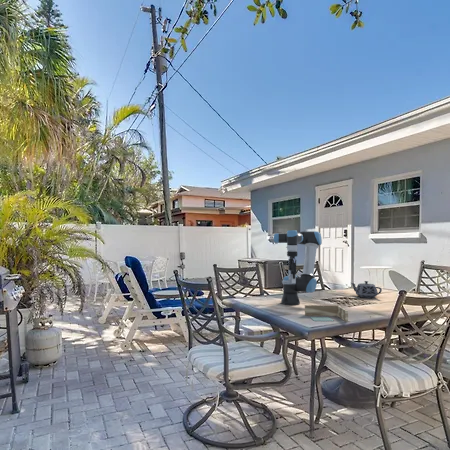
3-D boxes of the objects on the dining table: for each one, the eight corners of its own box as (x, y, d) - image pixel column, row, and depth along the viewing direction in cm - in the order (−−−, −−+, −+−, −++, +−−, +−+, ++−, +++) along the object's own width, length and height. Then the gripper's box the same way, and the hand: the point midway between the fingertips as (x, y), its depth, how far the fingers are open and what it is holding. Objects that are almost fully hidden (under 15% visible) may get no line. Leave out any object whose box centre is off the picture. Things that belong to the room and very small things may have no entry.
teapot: (355, 293, 326) (355, 278, 327) (386, 298, 302) (386, 281, 303) (345, 295, 314) (344, 280, 315) (376, 300, 290) (376, 283, 291)
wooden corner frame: (304, 315, 233) (304, 305, 233) (338, 315, 232) (338, 305, 233) (311, 321, 215) (311, 310, 215) (348, 321, 214) (347, 310, 215)
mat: (310, 317, 226) (310, 316, 226) (329, 317, 226) (329, 317, 226) (314, 321, 216) (314, 320, 216) (333, 321, 216) (333, 320, 216)
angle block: (293, 283, 245) (293, 269, 246) (295, 284, 239) (295, 270, 240) (281, 283, 245) (281, 269, 245) (283, 284, 239) (283, 270, 239)
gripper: (284, 250, 252) (284, 280, 251) (290, 251, 233) (290, 284, 232) (293, 250, 253) (294, 280, 252) (300, 251, 234) (300, 284, 233)
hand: (292, 282), depth 242 cm, fingers closed on angle block, 6 cm apart
